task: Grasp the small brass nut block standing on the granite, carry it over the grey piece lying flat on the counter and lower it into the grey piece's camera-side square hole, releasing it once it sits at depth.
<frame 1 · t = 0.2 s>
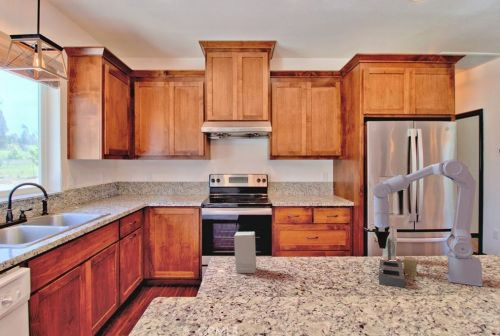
hand: (382, 245, 109), 10 cm above the counter, fingers open, 7 cm apart
grey piece: (391, 276, 103), on the counter
skincare box: (245, 271, 111), on the counter
beer glass: (389, 260, 122), on the counter
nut: (410, 273, 105), on the counter
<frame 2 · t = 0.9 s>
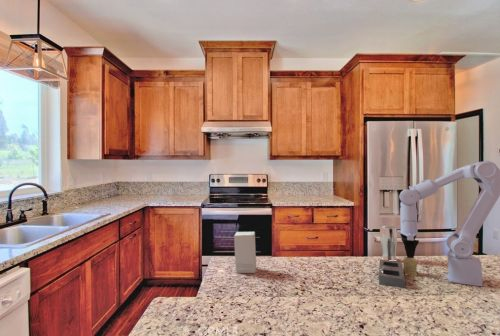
hand: (409, 254, 105), 7 cm above the counter, fingers open, 7 cm apart
nothing on the counter moved.
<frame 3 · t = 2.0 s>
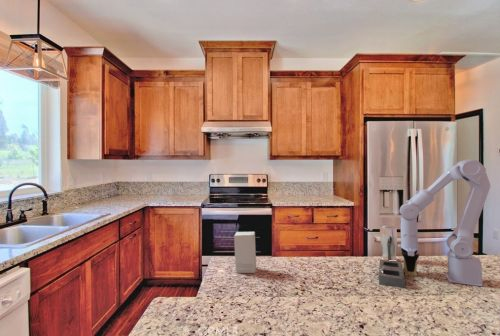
hand: (410, 269, 105), 2 cm above the counter, fingers closed on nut, 4 cm apart
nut: (410, 273, 105), on the counter, touching gripper
everything else where it was.
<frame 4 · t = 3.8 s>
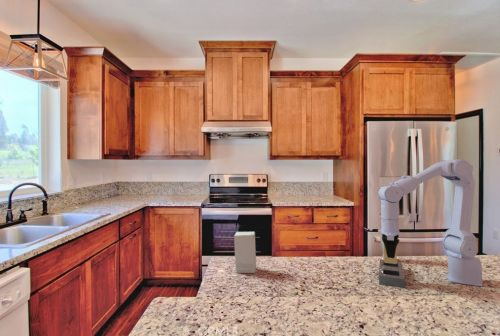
hand: (390, 255, 98), 9 cm above the counter, fingers closed on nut, 4 cm apart
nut: (390, 261, 98), point 7 cm above the counter, touching gripper
everything else where it was.
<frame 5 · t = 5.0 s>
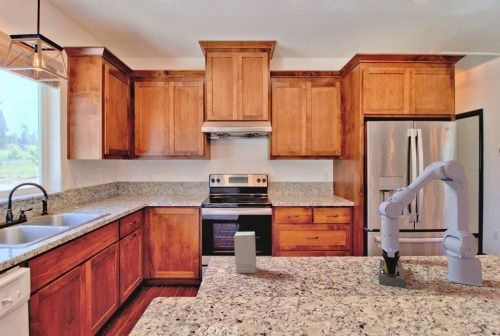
hand: (391, 271, 98), 3 cm above the counter, fingers closed on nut, 4 cm apart
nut: (390, 277, 98), point 1 cm above the counter, touching gripper
everything else where it was.
when the fingers open (3 cm above the counter, at t = 5.6 s): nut drops 1 cm, resting in grey piece.
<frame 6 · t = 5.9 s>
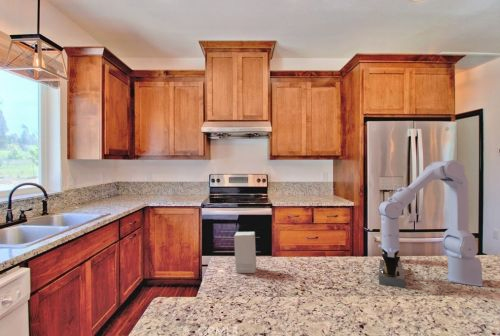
hand: (391, 271, 98), 3 cm above the counter, fingers open, 7 cm apart
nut: (390, 281, 98), resting in grey piece
everything else where it was.
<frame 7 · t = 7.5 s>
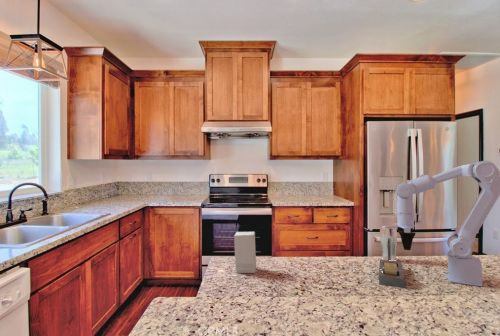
hand: (406, 247, 107), 10 cm above the counter, fingers open, 7 cm apart
nothing on the counter moved.
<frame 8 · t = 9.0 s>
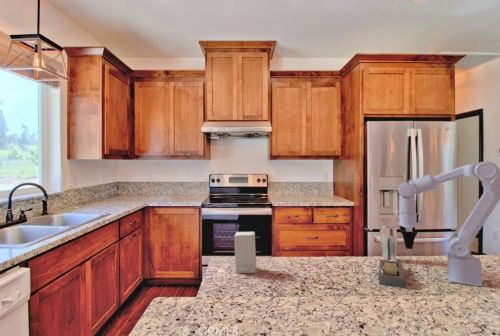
hand: (408, 246, 108), 10 cm above the counter, fingers open, 7 cm apart
nothing on the counter moved.
at the end: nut 0.2 cm from the target spot on the grey piece, point 0.0 cm above the grey piece's base; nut tilted 0°; the gripper is holding nothing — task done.
